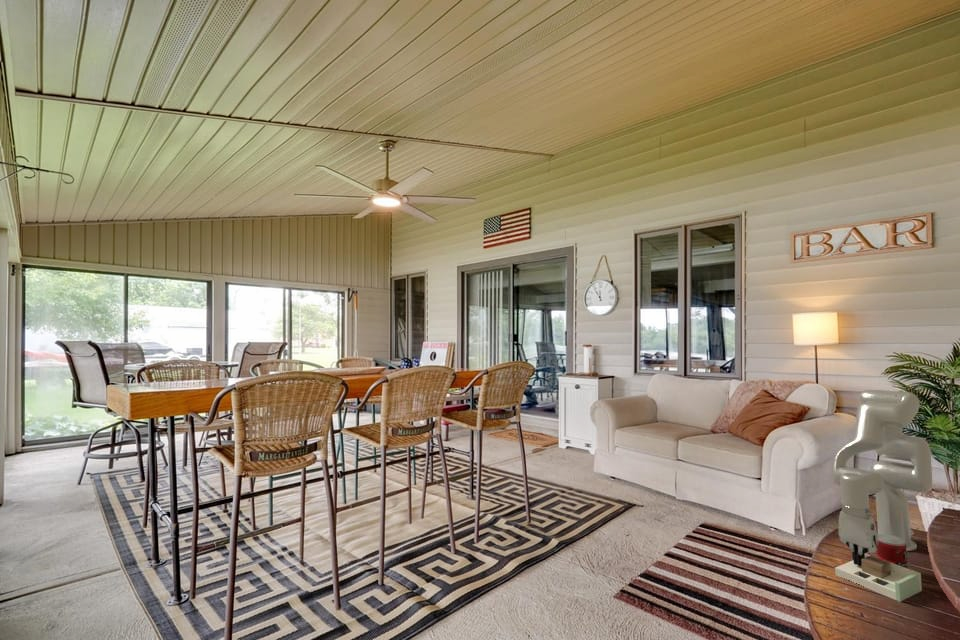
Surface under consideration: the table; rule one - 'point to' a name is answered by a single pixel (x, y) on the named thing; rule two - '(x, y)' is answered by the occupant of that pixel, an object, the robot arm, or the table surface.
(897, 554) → the canned food
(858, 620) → the table surface
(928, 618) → the table surface
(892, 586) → the trap box
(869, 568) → the block
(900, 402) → the robot arm
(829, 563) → the table surface
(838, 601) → the table surface
